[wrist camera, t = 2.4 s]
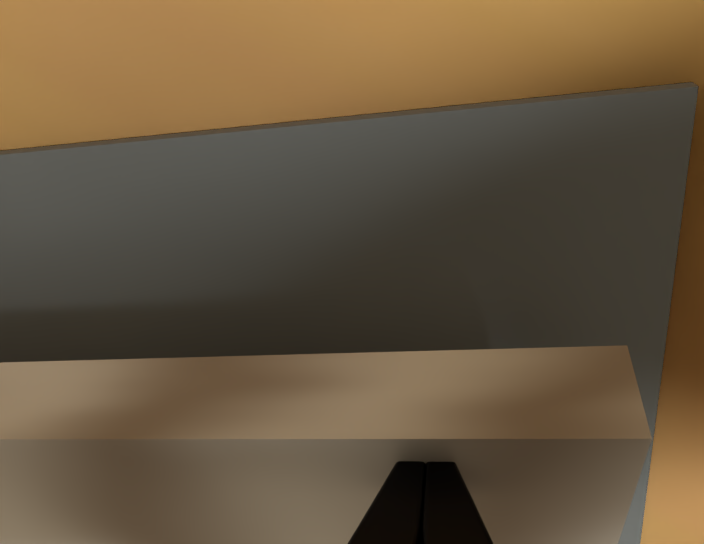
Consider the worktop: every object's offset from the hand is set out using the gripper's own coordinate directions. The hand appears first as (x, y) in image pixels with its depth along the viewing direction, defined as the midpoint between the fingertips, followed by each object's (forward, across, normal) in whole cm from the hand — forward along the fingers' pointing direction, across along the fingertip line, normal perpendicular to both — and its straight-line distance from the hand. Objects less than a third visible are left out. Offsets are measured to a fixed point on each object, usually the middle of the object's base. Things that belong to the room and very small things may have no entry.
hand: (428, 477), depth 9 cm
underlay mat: (+4, +5, +5) cm, 8 cm away
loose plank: (+2, +5, +3) cm, 6 cm away
